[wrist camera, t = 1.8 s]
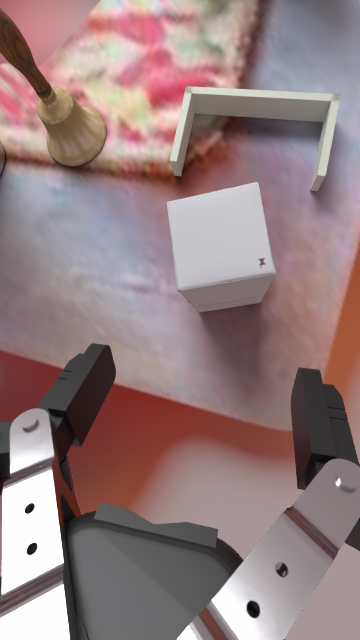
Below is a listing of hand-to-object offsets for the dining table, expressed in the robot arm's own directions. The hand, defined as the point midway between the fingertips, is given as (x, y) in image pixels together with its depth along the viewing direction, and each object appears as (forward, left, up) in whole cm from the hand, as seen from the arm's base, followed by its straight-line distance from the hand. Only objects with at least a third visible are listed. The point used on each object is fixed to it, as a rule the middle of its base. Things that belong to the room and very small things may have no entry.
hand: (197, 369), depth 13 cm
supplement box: (+2, +9, -22) cm, 23 cm away
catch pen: (+7, +24, -21) cm, 33 cm away
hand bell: (-14, +31, -22) cm, 40 cm away
